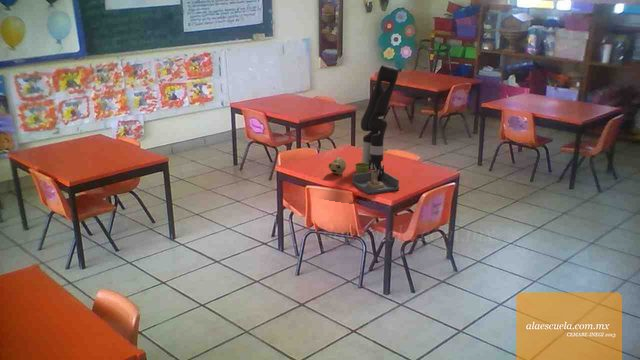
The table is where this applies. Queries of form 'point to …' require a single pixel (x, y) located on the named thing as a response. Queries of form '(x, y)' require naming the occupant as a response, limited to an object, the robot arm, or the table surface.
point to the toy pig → (337, 166)
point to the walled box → (365, 185)
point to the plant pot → (362, 167)
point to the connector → (374, 178)
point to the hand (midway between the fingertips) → (375, 179)
